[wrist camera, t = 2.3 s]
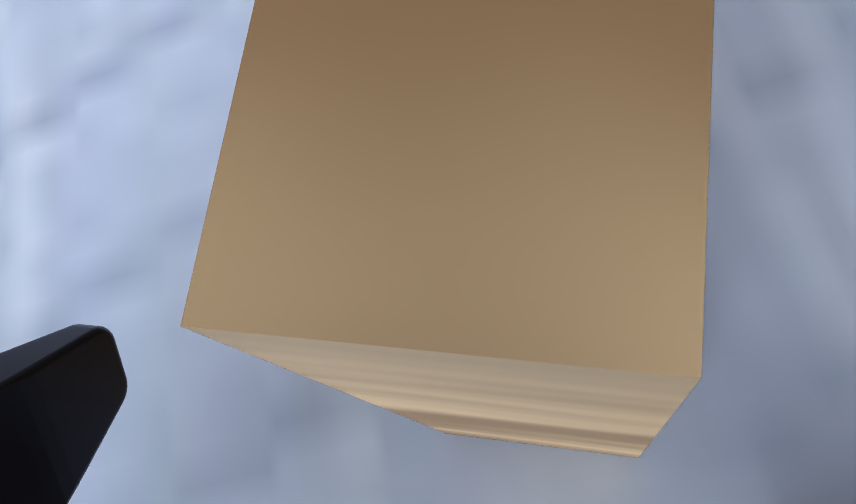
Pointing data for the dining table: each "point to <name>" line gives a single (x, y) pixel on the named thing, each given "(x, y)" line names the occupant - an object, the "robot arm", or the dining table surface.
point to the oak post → (470, 211)
